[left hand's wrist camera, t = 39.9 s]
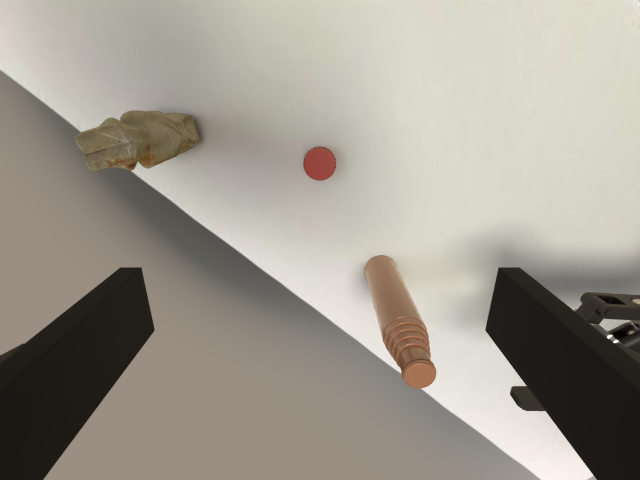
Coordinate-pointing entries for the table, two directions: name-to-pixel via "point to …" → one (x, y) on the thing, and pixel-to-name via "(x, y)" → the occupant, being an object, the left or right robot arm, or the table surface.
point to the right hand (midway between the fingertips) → (524, 363)
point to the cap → (319, 163)
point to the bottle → (400, 322)
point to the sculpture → (137, 140)
